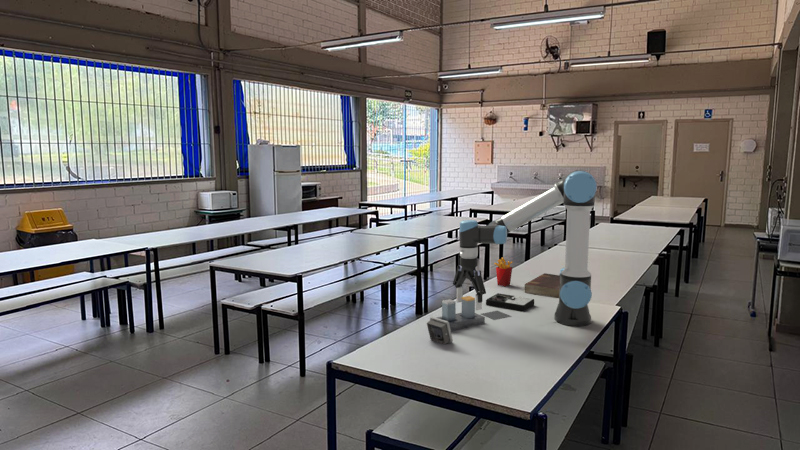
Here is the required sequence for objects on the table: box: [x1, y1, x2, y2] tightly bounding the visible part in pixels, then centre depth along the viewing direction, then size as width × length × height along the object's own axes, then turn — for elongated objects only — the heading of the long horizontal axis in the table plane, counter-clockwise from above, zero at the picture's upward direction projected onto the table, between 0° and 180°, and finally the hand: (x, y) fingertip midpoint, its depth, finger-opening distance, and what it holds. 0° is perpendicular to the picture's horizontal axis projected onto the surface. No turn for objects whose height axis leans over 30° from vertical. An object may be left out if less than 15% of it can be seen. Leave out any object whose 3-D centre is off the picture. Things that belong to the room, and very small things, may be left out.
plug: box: [461, 295, 476, 318], centre depth 228 cm, size 4×4×10 cm
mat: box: [480, 310, 512, 321], centre depth 238 cm, size 10×10×1 cm
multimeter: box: [485, 293, 535, 312], centre depth 253 cm, size 13×19×5 cm
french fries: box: [494, 257, 514, 287], centre depth 291 cm, size 9×8×15 cm
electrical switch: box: [426, 316, 454, 345], centre depth 206 cm, size 9×5×9 cm, turn 44°
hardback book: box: [524, 272, 560, 299], centre depth 282 cm, size 29×19×5 cm, turn 145°
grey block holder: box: [435, 299, 486, 332], centre depth 226 cm, size 10×20×11 cm, turn 119°
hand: (468, 305), depth 228 cm, fingers open, 13 cm apart
